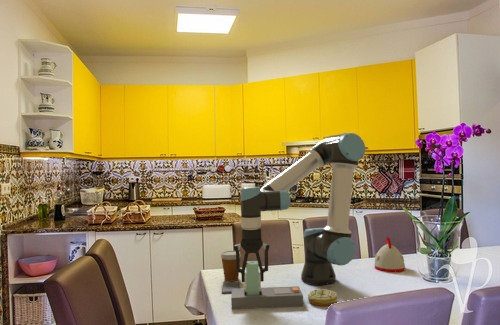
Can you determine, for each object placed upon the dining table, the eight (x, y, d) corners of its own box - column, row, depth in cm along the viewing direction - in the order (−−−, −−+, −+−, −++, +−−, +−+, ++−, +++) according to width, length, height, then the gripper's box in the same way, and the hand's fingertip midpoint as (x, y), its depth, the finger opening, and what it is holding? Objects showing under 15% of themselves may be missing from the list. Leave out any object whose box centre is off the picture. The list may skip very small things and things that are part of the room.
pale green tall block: (258, 292, 137) (257, 260, 137) (259, 296, 132) (258, 263, 133) (246, 292, 137) (246, 261, 137) (247, 297, 132) (246, 264, 133)
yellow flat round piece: (310, 296, 141) (310, 286, 141) (338, 298, 137) (338, 288, 138) (305, 305, 131) (305, 295, 131) (335, 308, 128) (335, 298, 128)
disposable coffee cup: (239, 282, 160) (238, 255, 160) (218, 281, 162) (217, 255, 162) (243, 276, 169) (243, 250, 169) (224, 275, 171) (223, 250, 171)
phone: (239, 284, 159) (239, 281, 159) (238, 294, 146) (238, 291, 146) (223, 285, 159) (223, 282, 159) (221, 295, 146) (221, 292, 146)
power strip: (298, 296, 140) (298, 284, 140) (303, 306, 130) (302, 293, 130) (232, 299, 139) (231, 286, 139) (231, 309, 129) (231, 295, 129)
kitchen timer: (401, 265, 181) (400, 235, 181) (408, 273, 167) (407, 240, 168) (372, 264, 183) (371, 235, 184) (377, 272, 170) (376, 240, 170)
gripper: (273, 225, 139) (275, 286, 139) (228, 227, 139) (229, 287, 138) (275, 228, 132) (277, 293, 131) (227, 230, 131) (229, 294, 131)
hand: (252, 290), depth 135 cm, fingers closed on pale green tall block, 4 cm apart
